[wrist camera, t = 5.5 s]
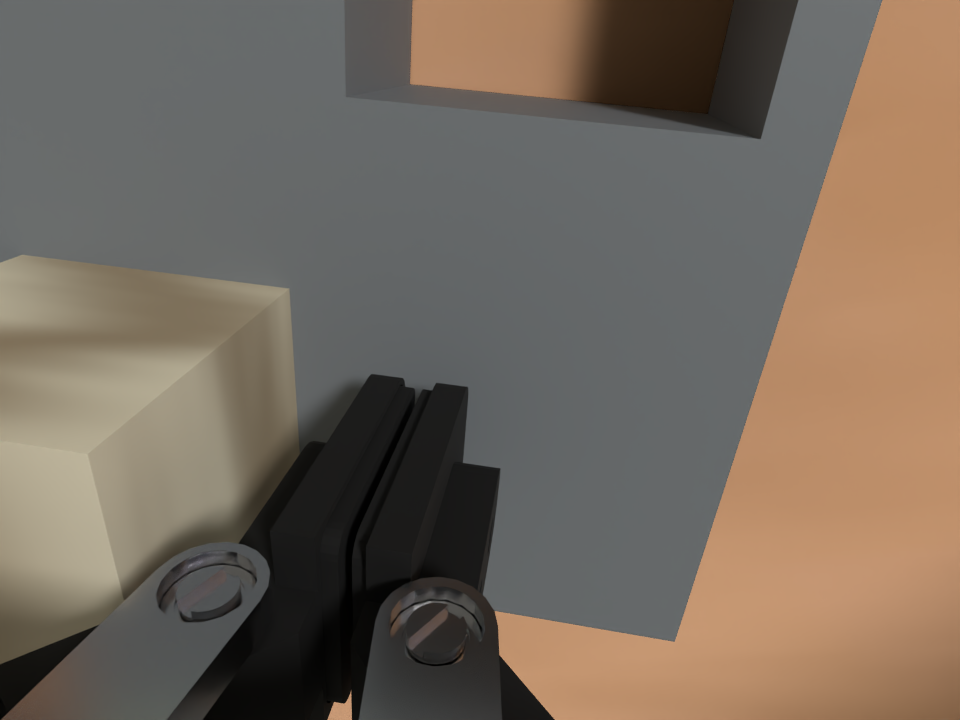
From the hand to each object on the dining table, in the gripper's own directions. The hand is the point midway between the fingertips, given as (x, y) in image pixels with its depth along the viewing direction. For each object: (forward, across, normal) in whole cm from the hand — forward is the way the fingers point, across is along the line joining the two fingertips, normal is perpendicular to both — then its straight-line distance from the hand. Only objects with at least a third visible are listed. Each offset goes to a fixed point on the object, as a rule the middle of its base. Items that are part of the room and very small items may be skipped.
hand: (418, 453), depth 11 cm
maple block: (+1, +5, 0) cm, 5 cm away
